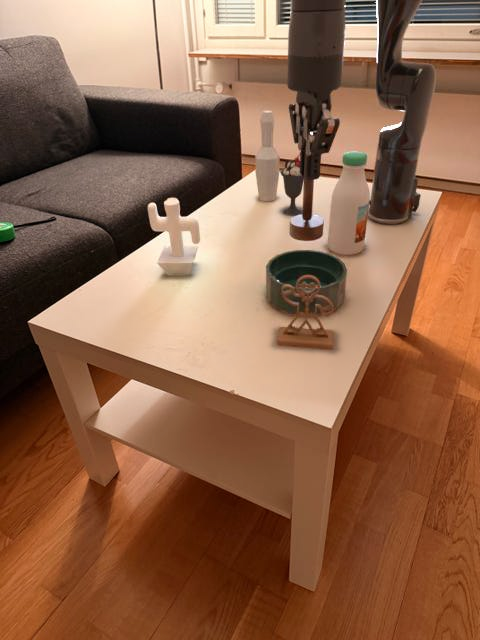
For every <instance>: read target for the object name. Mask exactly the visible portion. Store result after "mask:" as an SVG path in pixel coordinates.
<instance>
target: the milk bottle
mask: <svg viewBox="0 0 480 640" xmlns="http://www.w3.org/2000/svg"><path fill="white" fill-rule="evenodd" d="M367 162H368V154H367V153H365V152H363V151H356V150H355V151H347V152H344V153H343V155H342V164H341V166H342V171H341V174H340V176H339V178H338V180H337V181H336V183H335V185H334V188H333V191H332V195H331V202H330V211H329V222H328V223H329V224H328V233H327V234H328V236H327V247H328V249H329V250H330V251H331V252H333V253H335V254H338V255H343V256H351V255H356V254H359V253H361V252H362V251H363V249H364V246H365V240H366V233H367V225H368V218H369V217H368V211H369V206H370V204H369V201H370V199H371V192H370V187H369V184H368V181H367V178H366V173H365V168H366V167H367Z"/></svg>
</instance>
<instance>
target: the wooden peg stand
mask: <svg viewBox="0 0 480 640" xmlns="http://www.w3.org/2000/svg"><path fill="white" fill-rule="evenodd" d="M305 165H306V147H305V163H304V181H303V187H302V191H303V192H302V208H301V209H302V212H301V213H302V214H301V213H300V214H297V215H293V216H292V217H291V218H290V220H289V236H290V237H291V238H292V239H294V240H297V241H301V242H312V241H317V240H319V239H321V238H322V237H323V236H324V225H325V224H324V223H325V220H324V218H323V217H322V216H319V215H318V214H317V215H316V214H313V205H314V187H315V180H307V179H306V178H305Z"/></svg>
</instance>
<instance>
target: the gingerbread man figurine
mask: <svg viewBox="0 0 480 640" xmlns="http://www.w3.org/2000/svg"><path fill="white" fill-rule="evenodd" d="M305 278H310V279H313V280H315V281H316V282H317V283H318V285H315V283H314V282H311V283H310V284H307V283H306V282H302V284H298V283H299V282H300V281H301V280H303V279H305ZM298 286H302V287H301V291H302V292H301V291H300V290H299V288H298ZM306 287H310V288H313V289H312V290H310V291H307V290H305V289H303V288H306ZM314 287H318V289H317V291H316V292H314V291H315V288H314ZM284 288H290V289H291V290H289V291H287V290H286V291H285V292H284V291H283V289H284ZM296 290H297V292H298V293H299V294H298V293H295V291H294V287H293V286H292V285H290V284H285V285H284V286H282V289H281V294H282V297H283V299H284V300H285V301H286V302H287V303H289V304H291V305H294V306H297V315H295V316H294V317H293V318H292V320H291V321H290V322H289V324H288V325H287V326H280V327H279V328H278V333H277V338H276V345H277V346H285V347H296V348H309V349H310V348H311V349H322V350H333V349H334V335H335V333H334V331H333V330H331V329H326V328H325V327H324V326H323V324H322V322H321V320H320V319H319V317H318V315H316V313H317V307H318V308H320V310H321V314H320V315H322V316H323V317H330V316H332V315H333V314H334V310H333V304H332V302H331V301H330V300H329V299H328V298H327V297H325V296H322V295H317V294H318V293H319V291H320V281H319V280H318V279H317V278H316V277H315V276H312V275H304V276H301V277H300V278H299V279H298V280H297V283H296ZM313 292H314V293H313ZM311 293H312V294H311ZM286 294H287V295H289V294H293V295H294V296H296V297H302V302H304V301H306V302H305V306H306V308H305V313H304V312H302V313H301V312H299V303H297V302H292V301H290V300H289V299H287V298H286ZM305 294H307V296H305ZM309 294H310V296H309V297H308V295H309ZM313 298H320V299H323V300H325V301H327V302H328V303H329V304H330V305H329V307H328V306H326V307H323V308H322V306H321V305H319V304H315V313H309V308H308V306H309V301H310V302H313ZM329 309H330V310H331V311H330V312H328V313H325V312H323V311H326V310H328V311H329ZM299 317H303V318H304V317H305V318H306V319H305V320H304V321H303V322H302V323H301V325H300V326H299V327H296V326H295V325H294V326H293V324H294V323H295V322H296V320H297V319H298V318H299ZM307 317H308V318H314V319H315V321H316V322H317V324H318V326H319V327H317V328H313V326H312V325H311V323H310V322H309V320H308V319H307ZM305 325H307V328H305Z"/></svg>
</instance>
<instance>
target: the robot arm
mask: <svg viewBox="0 0 480 640" xmlns="http://www.w3.org/2000/svg"><path fill="white" fill-rule="evenodd" d="M346 2H347V0H290V16H289V18H290V19H289V24H288V31H287V33H288V34H287V35H288V36H287V39H288V40H287V78H286V79H287V80H286V81H287V85H286V86H287V88H288V89H289V90H290V91H293V92H296V97H295V103H290V104H288V113H289V118H290V119H289V120H290V126H291V131H292V137H293V142H294V144H297V148H298V151H299V154H300V156H299V162H300V174H301V175H302V176H304V163H305V147H306V165H305V178H306V179H307V180H314V181H315V180H318V179H320V177H321V167H322V166H321V163H322V155H324V154H328V153H330V151H331V148H332V146H333V143H334V140H335V138H336V136H337V132H338V131H339V127H340V124H341V121H340V118H339V117H333V116H332V114H331V113H332V97H331V95H332V92H333V91H336V90H338V89H339V88H340V87H341V85H342V79H343V78H342V77H343V66H344V53H345V41H346ZM422 2H423V0H376V18H377V19H376V20H377V48H376V50H377V51H376V52H377V53H376V71H375V73H376V75H375V87H376V88H375V91H376V92H375V94H376V101H377V103H378V105H379V107H381V109H385V110H389V111H395V112H403V113H404V115H403V118H402V119H403V120H402V121H401V122H400V123H398V124H394V125H391V126H390V125H389V126H387V127H383V128H382V129H381V130H379V133H378V138H377V145H376V153H375V161H374V169H373V177H372V183H371V191H370V200H369V210H368V218H369V219H370V220H371V221H373V222H374V223H375V222H376V223H379V224H385V225H397V224H402V223H405V222H406V221H407V220H410V219H412V215H413V213H416V212H417V211H418V209H419V207H420V201H421V196H422V195H421V194H420V193H418V192H417V189H418V182H419V179H418V178H417V177H416V173H417V168H418V163H419V157H420V151H421V145H422V142H423V141H422V140H423V137H424V134H425V131H426V128H427V124H428V119H429V115H430V110H431V107H432V102H433V100H434V99H433V98H434V95H435V90H436V83H437V73H436V72H437V71H436V68H435V66H434V65H433V64H431V63H426V62H415V61H404V60H403V44H404V43H403V42H404V37H405V35H406V32H407V30H408V28H409V26H410V24H411V21H412V20H413V18H414V17H415V15H416V13H417V10H419V8H420V6H421V4H422Z"/></svg>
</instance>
